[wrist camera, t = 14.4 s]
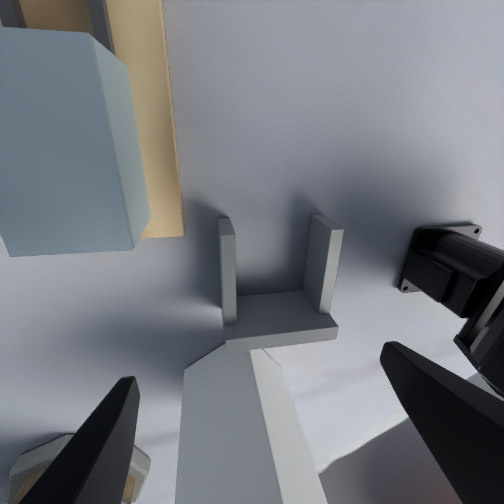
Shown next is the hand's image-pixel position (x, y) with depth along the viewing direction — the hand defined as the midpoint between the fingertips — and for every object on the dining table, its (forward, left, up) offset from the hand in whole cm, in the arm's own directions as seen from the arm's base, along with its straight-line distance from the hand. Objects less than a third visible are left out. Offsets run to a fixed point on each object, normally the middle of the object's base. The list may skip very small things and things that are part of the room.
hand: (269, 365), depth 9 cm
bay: (-3, +2, -12) cm, 12 cm away
